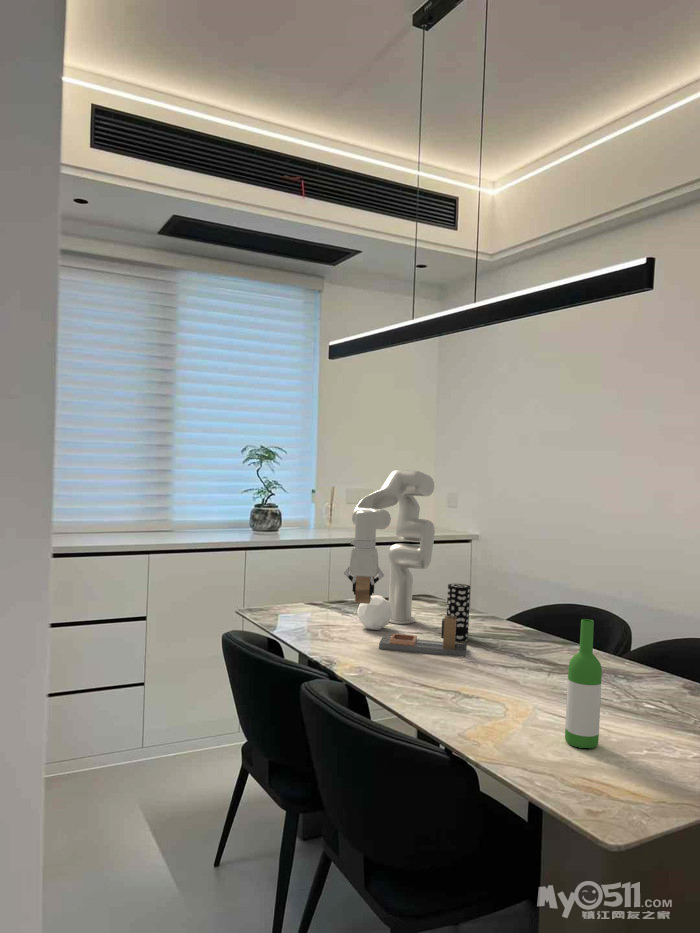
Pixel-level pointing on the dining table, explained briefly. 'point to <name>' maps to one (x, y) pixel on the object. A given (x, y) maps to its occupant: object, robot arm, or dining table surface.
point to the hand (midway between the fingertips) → (363, 593)
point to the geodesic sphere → (375, 613)
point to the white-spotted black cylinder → (459, 608)
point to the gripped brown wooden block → (362, 590)
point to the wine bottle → (583, 693)
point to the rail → (428, 642)
